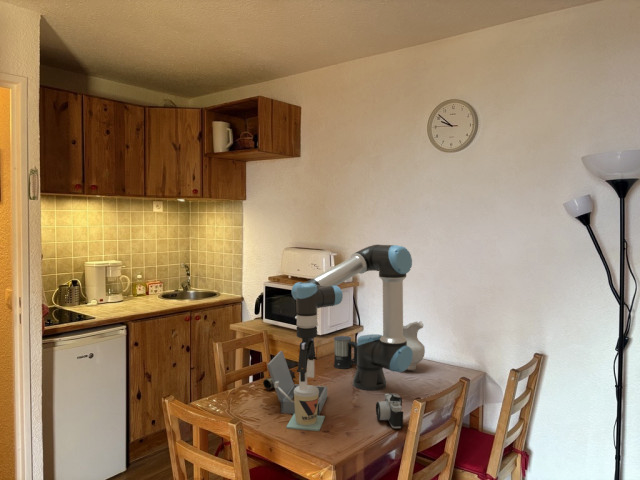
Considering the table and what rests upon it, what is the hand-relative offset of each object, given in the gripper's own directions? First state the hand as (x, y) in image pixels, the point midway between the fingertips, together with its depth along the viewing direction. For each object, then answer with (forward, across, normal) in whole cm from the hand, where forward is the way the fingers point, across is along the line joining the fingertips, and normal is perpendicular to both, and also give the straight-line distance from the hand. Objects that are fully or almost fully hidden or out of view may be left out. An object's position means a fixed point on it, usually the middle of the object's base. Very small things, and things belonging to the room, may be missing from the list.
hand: (307, 383), depth 174 cm
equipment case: (+15, -16, -4) cm, 23 cm away
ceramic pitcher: (+16, -76, +35) cm, 85 cm away
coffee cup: (+14, 0, 0) cm, 14 cm away
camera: (+15, -8, +30) cm, 34 cm away
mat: (+15, 0, 0) cm, 15 cm away
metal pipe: (+18, -32, -23) cm, 43 cm away
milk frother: (+16, -74, +7) cm, 76 cm away
